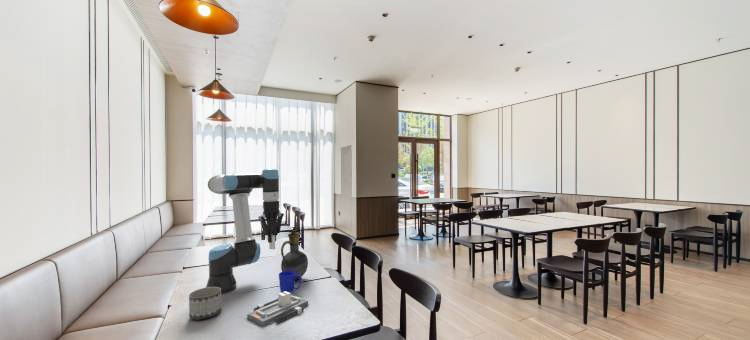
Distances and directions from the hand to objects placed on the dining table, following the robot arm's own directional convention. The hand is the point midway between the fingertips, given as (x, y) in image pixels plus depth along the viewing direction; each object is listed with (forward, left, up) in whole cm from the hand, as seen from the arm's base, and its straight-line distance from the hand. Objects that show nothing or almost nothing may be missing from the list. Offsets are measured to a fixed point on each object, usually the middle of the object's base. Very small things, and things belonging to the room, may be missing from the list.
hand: (272, 248), depth 147 cm
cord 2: (+18, -4, -26) cm, 32 cm away
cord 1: (+2, -4, -26) cm, 27 cm away
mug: (-4, +13, -27) cm, 30 cm away
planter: (-15, -25, -27) cm, 40 cm away
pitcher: (-16, +24, -27) cm, 39 cm away
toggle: (+10, -1, -24) cm, 26 cm away
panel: (+10, -4, -26) cm, 29 cm away
